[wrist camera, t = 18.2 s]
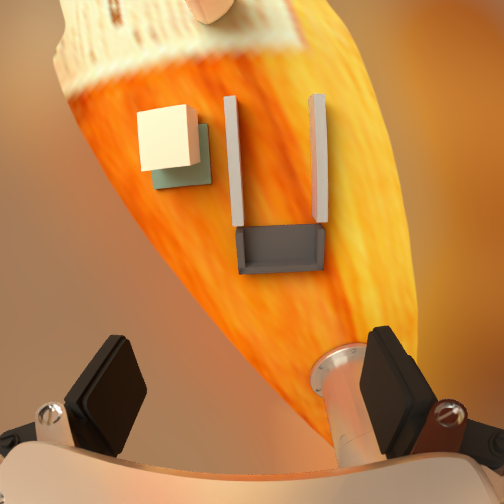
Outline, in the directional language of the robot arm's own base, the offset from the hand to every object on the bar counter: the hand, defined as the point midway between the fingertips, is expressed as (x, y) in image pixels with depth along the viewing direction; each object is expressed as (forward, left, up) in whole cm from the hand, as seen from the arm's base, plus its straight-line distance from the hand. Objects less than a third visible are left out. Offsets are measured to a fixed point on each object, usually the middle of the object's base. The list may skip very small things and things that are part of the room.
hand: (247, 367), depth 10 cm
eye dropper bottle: (+26, +3, -25) cm, 37 cm away
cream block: (+9, +8, -25) cm, 27 cm away
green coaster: (+7, +8, -25) cm, 27 cm away
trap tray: (-4, -3, -25) cm, 26 cm away
